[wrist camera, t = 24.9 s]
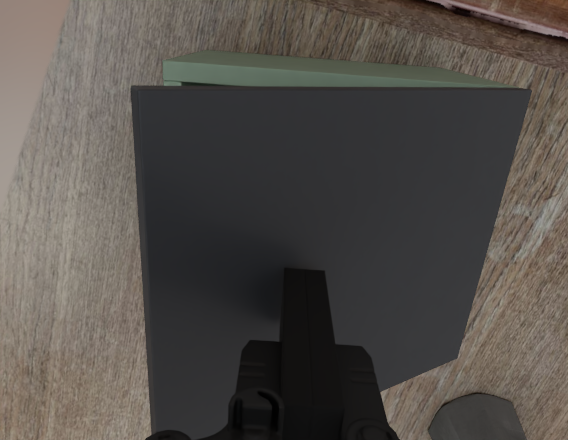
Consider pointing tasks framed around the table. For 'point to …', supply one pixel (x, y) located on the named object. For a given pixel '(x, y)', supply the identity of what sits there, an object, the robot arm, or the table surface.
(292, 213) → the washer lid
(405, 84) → the green box
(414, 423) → the table surface
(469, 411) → the coffeepot
